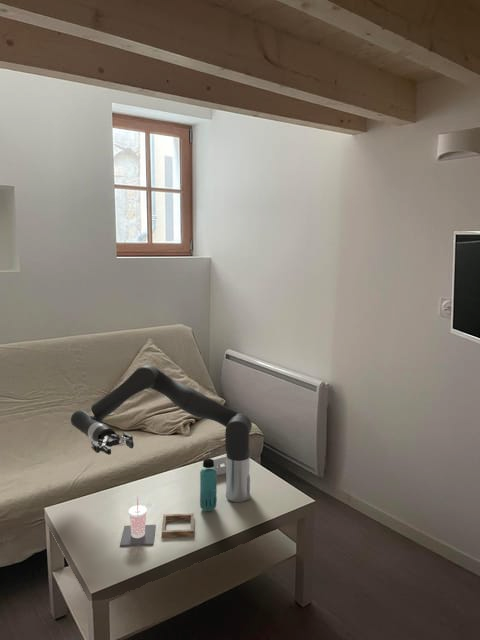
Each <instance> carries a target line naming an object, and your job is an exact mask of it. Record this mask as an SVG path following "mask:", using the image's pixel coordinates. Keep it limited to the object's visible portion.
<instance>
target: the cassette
mask: <svg viewBox="0 0 480 640" xmlns="http://www.w3.org/2000/svg"><path fill="white" fill-rule="evenodd" d="M211 459H212V460H213V461H214V466H213V468H214V469H215V470H216V471H217V473H216V477H218V476H221V475H225V474H226V459H227V454H226V455H222V456H220V457H215V458H211Z"/></svg>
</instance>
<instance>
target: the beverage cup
mask: <svg viewBox="0 0 480 640" xmlns="http://www.w3.org/2000/svg"><path fill="white" fill-rule="evenodd" d="M147 511H148V509H147V508H146V506H144V505H140V504H139V496H136V505H134V506H132V507H129V509H128V515H129V523H130V524H129V526H131V536H132V537H134V538H141V537H143V536H144V535H145V525H146V519H147V518H146V516H147Z"/></svg>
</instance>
